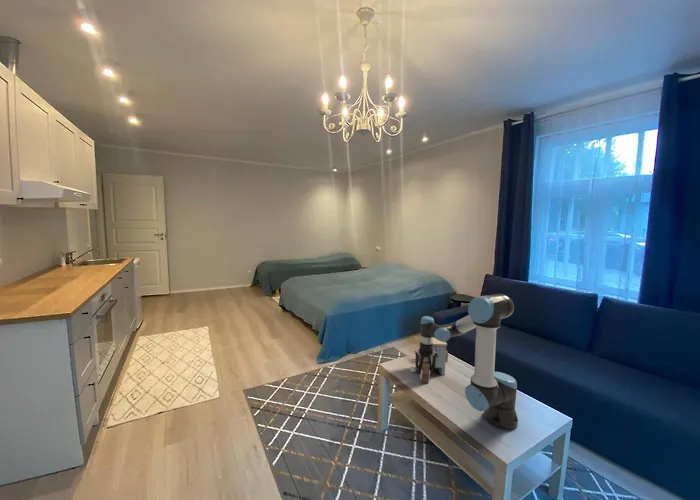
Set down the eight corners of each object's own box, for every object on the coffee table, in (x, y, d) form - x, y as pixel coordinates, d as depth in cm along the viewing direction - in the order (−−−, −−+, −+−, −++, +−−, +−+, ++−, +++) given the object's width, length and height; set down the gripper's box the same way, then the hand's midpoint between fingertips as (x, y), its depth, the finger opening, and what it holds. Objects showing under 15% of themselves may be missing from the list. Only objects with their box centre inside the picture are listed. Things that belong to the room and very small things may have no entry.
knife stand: (447, 361, 207) (448, 352, 207) (419, 361, 207) (419, 351, 206) (445, 358, 211) (446, 349, 210) (417, 358, 211) (418, 349, 210)
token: (418, 373, 191) (418, 370, 191) (410, 373, 192) (410, 370, 191) (416, 369, 196) (416, 367, 196) (409, 369, 197) (409, 366, 196)
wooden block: (428, 382, 179) (429, 364, 178) (422, 382, 179) (422, 364, 178) (421, 368, 196) (422, 351, 195) (415, 368, 196) (416, 351, 195)
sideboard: (445, 376, 188) (447, 344, 186) (424, 376, 188) (425, 344, 186) (439, 366, 201) (441, 336, 198) (419, 365, 201) (420, 336, 198)
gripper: (438, 339, 182) (436, 375, 185) (410, 339, 182) (409, 375, 185) (442, 345, 175) (440, 382, 177) (413, 344, 175) (412, 381, 177)
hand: (424, 378), depth 181 cm, fingers closed on wooden block, 4 cm apart
